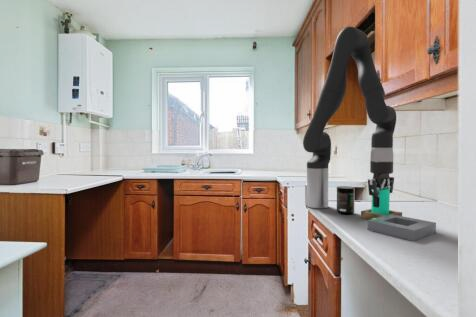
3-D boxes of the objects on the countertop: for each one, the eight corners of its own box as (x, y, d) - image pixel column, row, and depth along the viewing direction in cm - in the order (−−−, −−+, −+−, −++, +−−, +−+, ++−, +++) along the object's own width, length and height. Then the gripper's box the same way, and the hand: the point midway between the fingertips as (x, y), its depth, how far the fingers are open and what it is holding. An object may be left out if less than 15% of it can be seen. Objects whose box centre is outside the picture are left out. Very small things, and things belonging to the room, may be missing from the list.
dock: (367, 229, 93) (367, 218, 92) (390, 222, 101) (390, 212, 100) (414, 241, 81) (414, 228, 81) (435, 232, 89) (436, 220, 89)
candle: (393, 218, 104) (393, 185, 104) (379, 219, 103) (380, 185, 102) (380, 214, 110) (381, 182, 110) (367, 215, 108) (368, 183, 108)
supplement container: (356, 212, 116) (356, 186, 116) (352, 216, 111) (352, 189, 110) (338, 210, 120) (338, 185, 120) (334, 214, 114) (334, 187, 114)
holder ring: (360, 217, 108) (360, 211, 108) (375, 214, 113) (375, 207, 113) (387, 223, 99) (387, 216, 99) (402, 219, 105) (402, 212, 105)
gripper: (382, 159, 113) (381, 202, 114) (360, 160, 105) (360, 206, 105) (402, 159, 106) (401, 205, 107) (381, 161, 98) (380, 210, 99)
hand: (380, 205), depth 106 cm, fingers closed on candle, 5 cm apart
